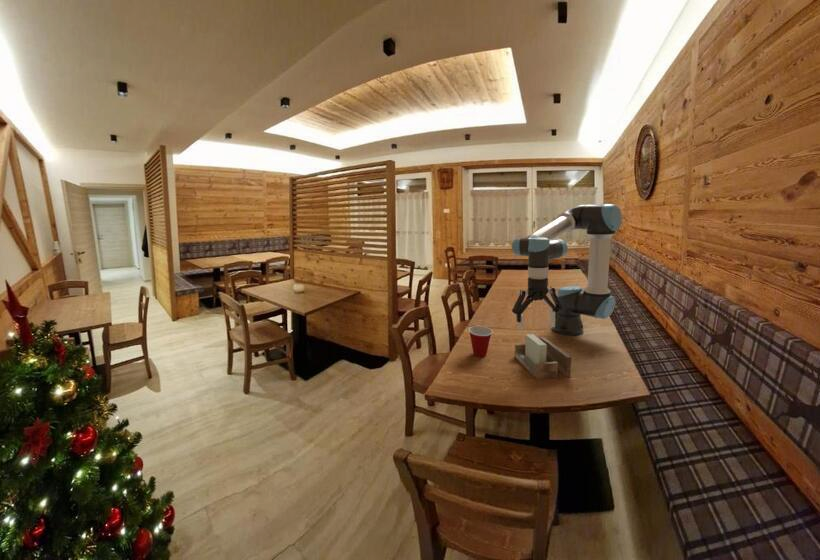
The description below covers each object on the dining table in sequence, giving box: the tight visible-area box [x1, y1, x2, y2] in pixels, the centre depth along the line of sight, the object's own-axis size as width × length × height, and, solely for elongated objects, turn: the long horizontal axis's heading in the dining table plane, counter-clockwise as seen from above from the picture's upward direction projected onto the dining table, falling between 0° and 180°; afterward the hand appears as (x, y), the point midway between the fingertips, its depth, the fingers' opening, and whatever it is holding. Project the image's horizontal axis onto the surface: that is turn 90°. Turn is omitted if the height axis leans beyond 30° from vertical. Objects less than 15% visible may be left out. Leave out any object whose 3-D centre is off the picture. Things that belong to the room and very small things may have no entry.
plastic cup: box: [468, 325, 494, 358], centre depth 157 cm, size 11×11×12 cm
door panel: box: [524, 333, 547, 366], centre depth 143 cm, size 3×12×12 cm, turn 7°
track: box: [514, 336, 572, 380], centre depth 144 cm, size 13×22×8 cm, turn 7°
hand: (536, 327), depth 141 cm, fingers open, 13 cm apart
